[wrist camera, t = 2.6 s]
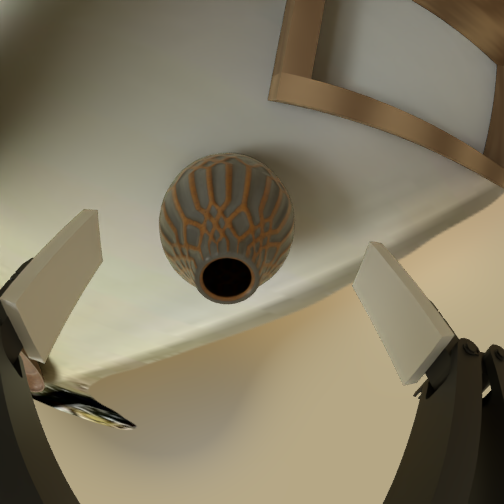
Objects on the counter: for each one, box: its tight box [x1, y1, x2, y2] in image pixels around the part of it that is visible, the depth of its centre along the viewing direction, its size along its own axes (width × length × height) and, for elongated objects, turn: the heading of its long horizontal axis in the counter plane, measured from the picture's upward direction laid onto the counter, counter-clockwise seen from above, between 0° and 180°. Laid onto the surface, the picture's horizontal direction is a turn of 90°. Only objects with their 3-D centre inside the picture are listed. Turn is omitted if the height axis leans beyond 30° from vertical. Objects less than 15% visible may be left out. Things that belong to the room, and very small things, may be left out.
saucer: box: [20, 348, 45, 392], centre depth 24 cm, size 15×15×3 cm
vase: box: [159, 153, 294, 304], centre depth 14 cm, size 7×7×9 cm
